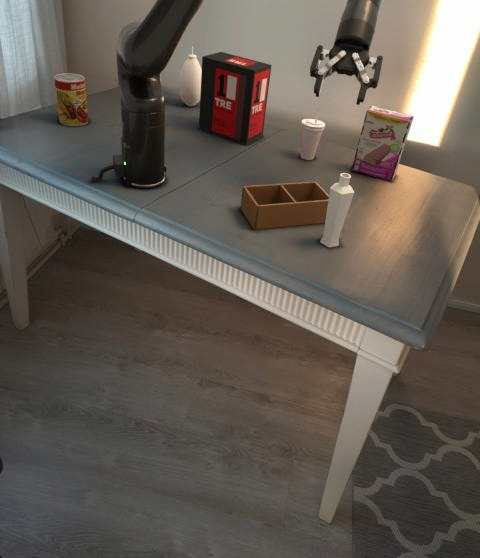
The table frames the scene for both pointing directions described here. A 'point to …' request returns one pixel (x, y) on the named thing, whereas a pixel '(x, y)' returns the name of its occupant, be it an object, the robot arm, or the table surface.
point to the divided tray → (284, 204)
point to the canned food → (71, 99)
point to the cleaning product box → (233, 97)
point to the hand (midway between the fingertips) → (337, 98)
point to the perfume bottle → (337, 210)
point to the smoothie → (311, 136)
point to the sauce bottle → (190, 81)
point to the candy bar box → (381, 142)
